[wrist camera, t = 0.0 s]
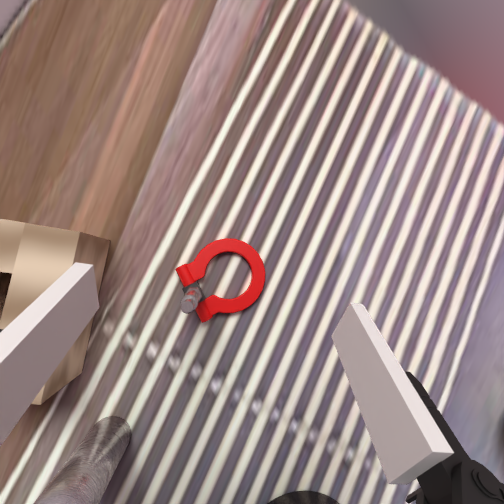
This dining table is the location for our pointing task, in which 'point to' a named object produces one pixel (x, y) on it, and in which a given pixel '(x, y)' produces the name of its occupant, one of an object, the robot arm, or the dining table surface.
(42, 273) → the hitch block
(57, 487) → the steel pin
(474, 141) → the dining table surface
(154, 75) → the dining table surface
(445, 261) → the dining table surface
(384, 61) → the dining table surface
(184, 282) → the tow hook
